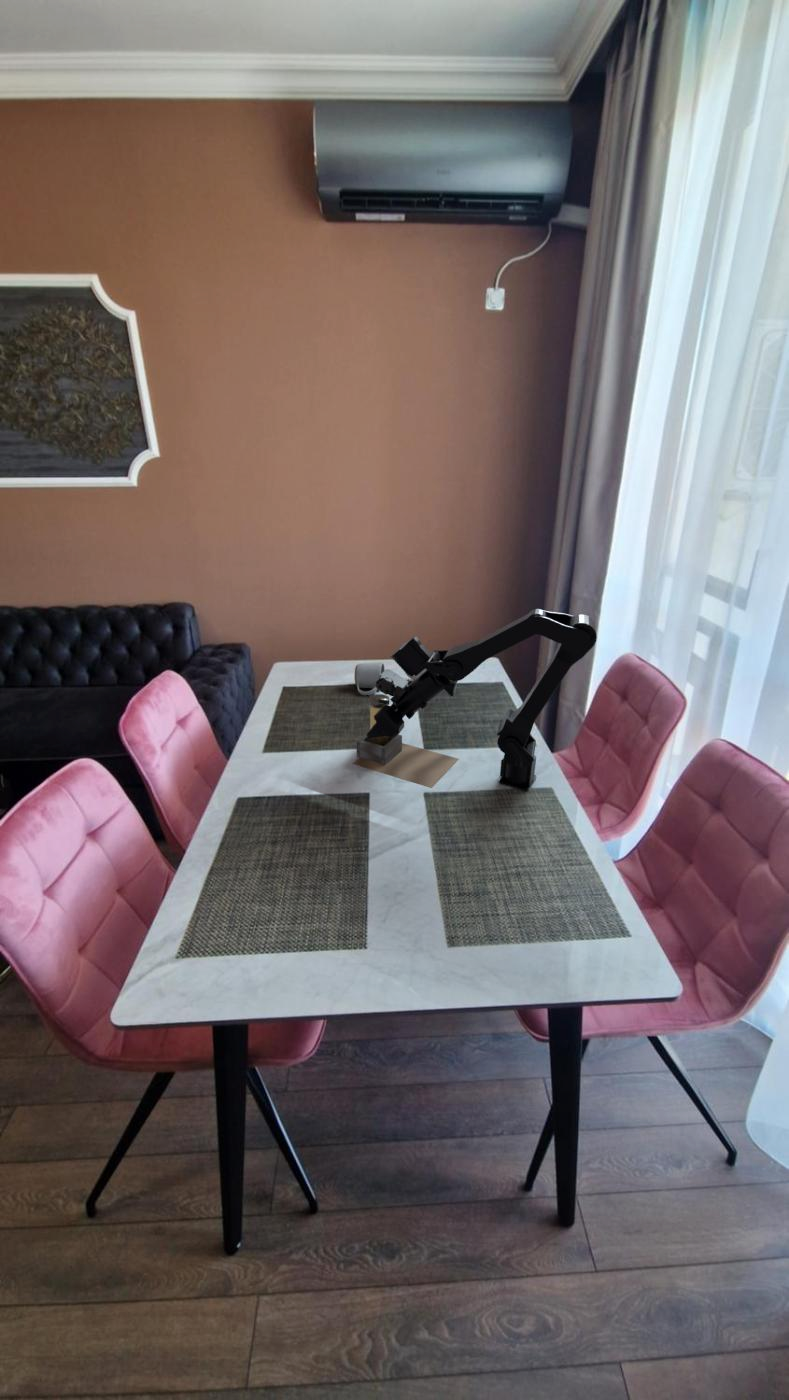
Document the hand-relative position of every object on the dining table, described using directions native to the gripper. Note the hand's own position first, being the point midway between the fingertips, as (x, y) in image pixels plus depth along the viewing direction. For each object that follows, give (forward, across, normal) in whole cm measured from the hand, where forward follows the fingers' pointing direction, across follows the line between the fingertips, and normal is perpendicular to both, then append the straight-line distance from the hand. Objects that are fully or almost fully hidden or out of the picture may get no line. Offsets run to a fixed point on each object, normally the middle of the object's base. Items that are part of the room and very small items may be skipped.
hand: (375, 727), depth 138 cm
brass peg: (+4, 0, +5) cm, 7 cm away
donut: (+9, -49, +3) cm, 50 cm away
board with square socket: (0, +1, +11) cm, 11 cm away
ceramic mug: (+18, -38, -6) cm, 42 cm away
